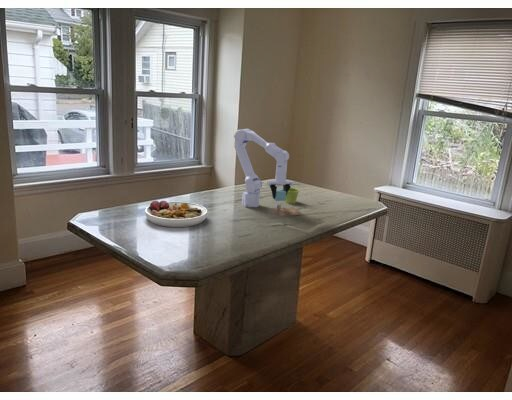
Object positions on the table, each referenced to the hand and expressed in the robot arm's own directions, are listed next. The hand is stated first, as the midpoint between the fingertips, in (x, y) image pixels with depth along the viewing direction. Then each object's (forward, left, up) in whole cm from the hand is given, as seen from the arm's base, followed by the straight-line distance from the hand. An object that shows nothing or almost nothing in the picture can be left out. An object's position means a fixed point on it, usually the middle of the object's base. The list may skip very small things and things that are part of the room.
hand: (279, 197), depth 230 cm
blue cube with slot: (0, 0, -1) cm, 1 cm away
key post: (0, 0, -7) cm, 7 cm away
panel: (+3, -2, -8) cm, 9 cm away
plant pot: (+14, +15, -8) cm, 22 cm away
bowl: (-56, -4, -9) cm, 57 cm away
